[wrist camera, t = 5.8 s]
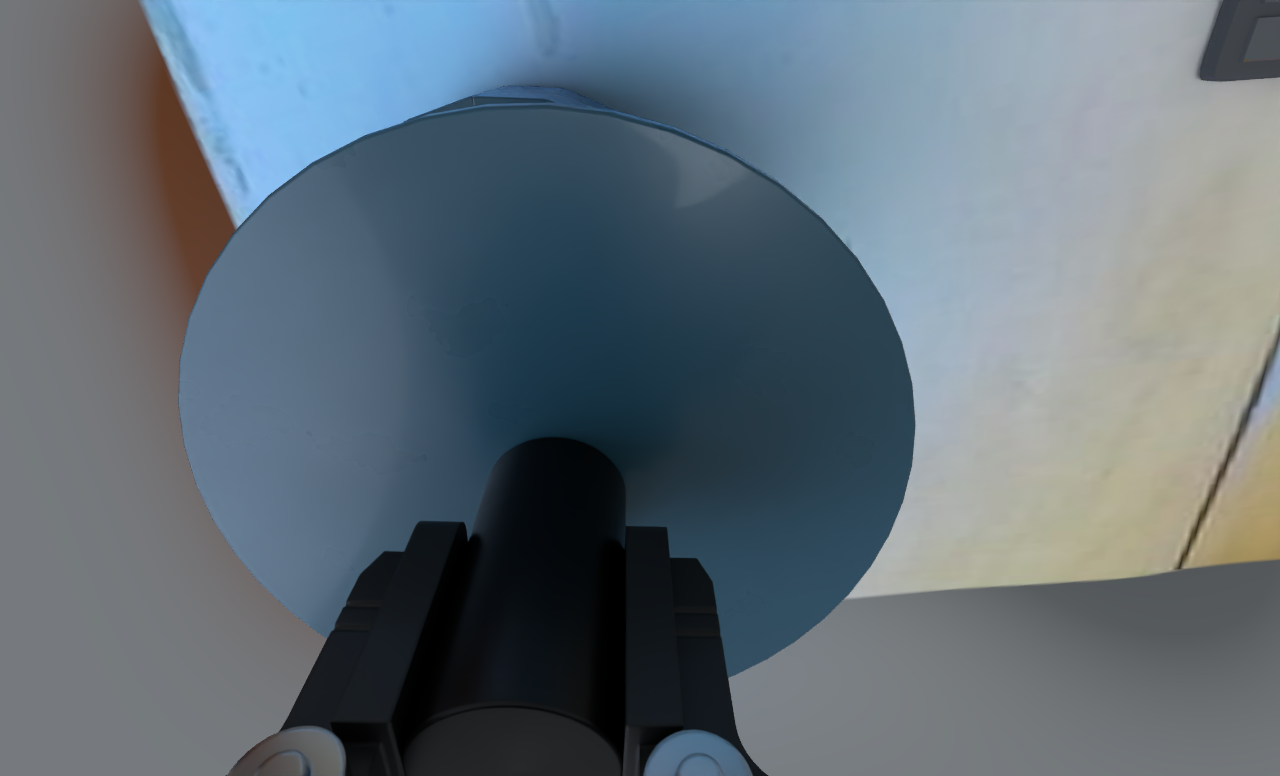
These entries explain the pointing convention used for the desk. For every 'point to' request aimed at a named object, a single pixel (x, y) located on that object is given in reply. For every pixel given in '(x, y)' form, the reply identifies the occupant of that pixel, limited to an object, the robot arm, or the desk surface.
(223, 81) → the desk surface
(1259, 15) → the calculator
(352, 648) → the robot arm
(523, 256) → the tin lid
